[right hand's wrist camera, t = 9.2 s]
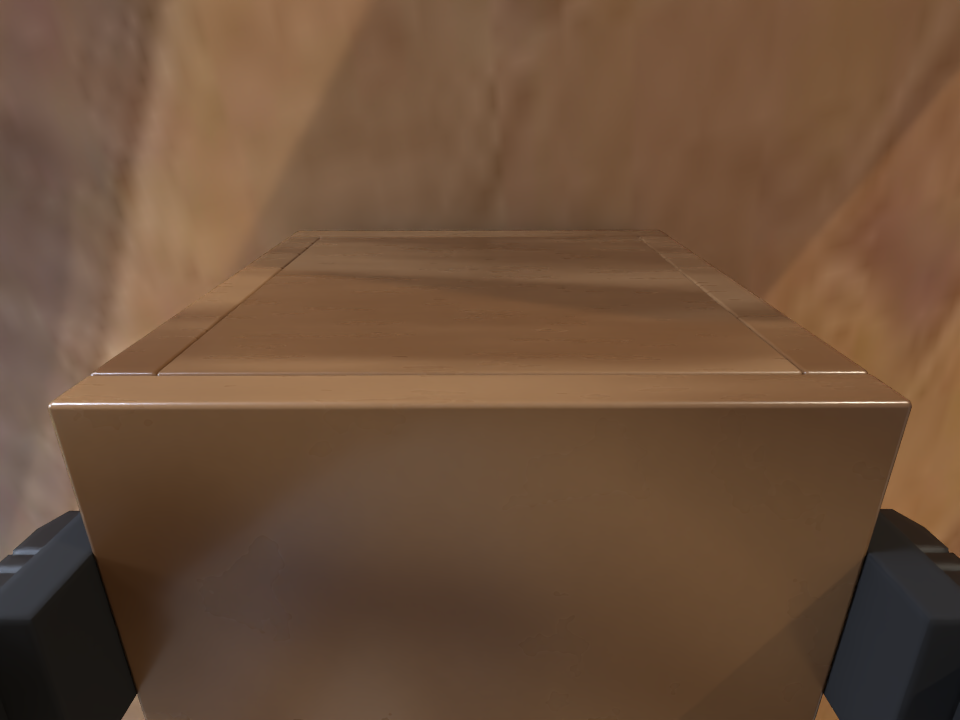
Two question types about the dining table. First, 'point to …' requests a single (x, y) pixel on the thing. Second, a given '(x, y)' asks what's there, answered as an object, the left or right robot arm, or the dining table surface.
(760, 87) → the dining table surface
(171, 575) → the cabinet
